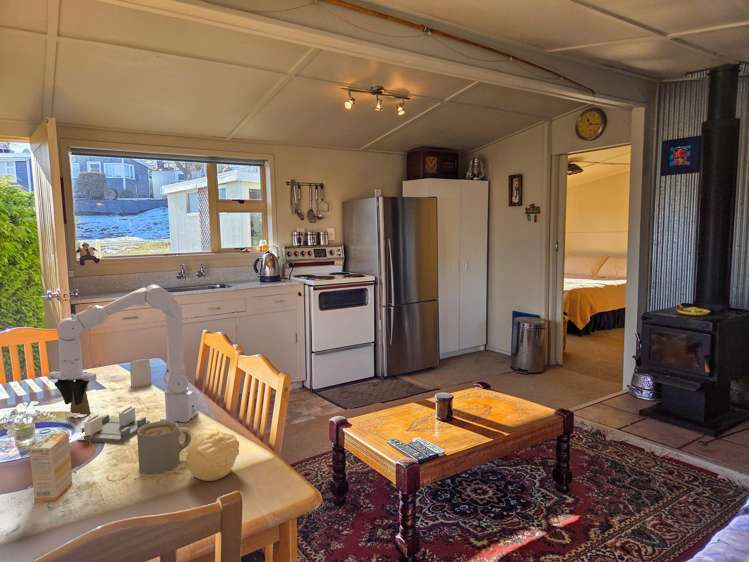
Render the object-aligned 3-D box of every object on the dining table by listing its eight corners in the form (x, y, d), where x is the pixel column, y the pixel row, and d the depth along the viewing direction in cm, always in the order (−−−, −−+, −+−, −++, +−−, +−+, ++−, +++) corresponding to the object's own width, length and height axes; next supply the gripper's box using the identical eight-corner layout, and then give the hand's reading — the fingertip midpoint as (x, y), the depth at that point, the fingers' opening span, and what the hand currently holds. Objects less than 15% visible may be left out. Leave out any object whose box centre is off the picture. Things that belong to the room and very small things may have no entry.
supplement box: (52, 484, 123) (48, 432, 121) (73, 483, 123) (69, 432, 122) (32, 503, 115) (28, 447, 113) (54, 502, 115) (50, 447, 114)
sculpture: (210, 491, 120) (209, 447, 119) (178, 477, 126) (176, 436, 125) (246, 471, 129) (245, 431, 128) (214, 459, 136) (213, 421, 135)
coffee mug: (142, 477, 126) (140, 439, 125) (136, 461, 135) (134, 425, 133) (197, 463, 133) (195, 427, 132) (188, 449, 142) (187, 415, 141)
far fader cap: (135, 419, 159) (134, 406, 159) (125, 425, 154) (124, 412, 154) (129, 419, 160) (128, 405, 159) (119, 425, 155) (118, 411, 154)
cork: (81, 418, 164) (79, 386, 163) (65, 417, 165) (63, 384, 164) (95, 412, 170) (93, 380, 168) (79, 410, 171) (77, 379, 170)
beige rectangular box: (151, 384, 199) (150, 359, 198) (133, 387, 195) (131, 362, 194) (149, 382, 202) (147, 357, 201) (130, 385, 198) (129, 360, 197)
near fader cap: (102, 428, 152) (101, 414, 152) (90, 435, 147) (90, 421, 147) (96, 428, 153) (95, 414, 152) (84, 435, 148) (83, 420, 147)
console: (149, 424, 159) (149, 415, 159) (121, 443, 146) (120, 433, 145) (109, 421, 161) (108, 412, 161) (77, 440, 148) (77, 430, 147)
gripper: (37, 361, 146) (41, 406, 147) (83, 363, 143) (86, 409, 145) (56, 355, 153) (59, 398, 154) (100, 357, 150) (102, 401, 152)
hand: (73, 403), depth 150 cm, fingers open, 3 cm apart
